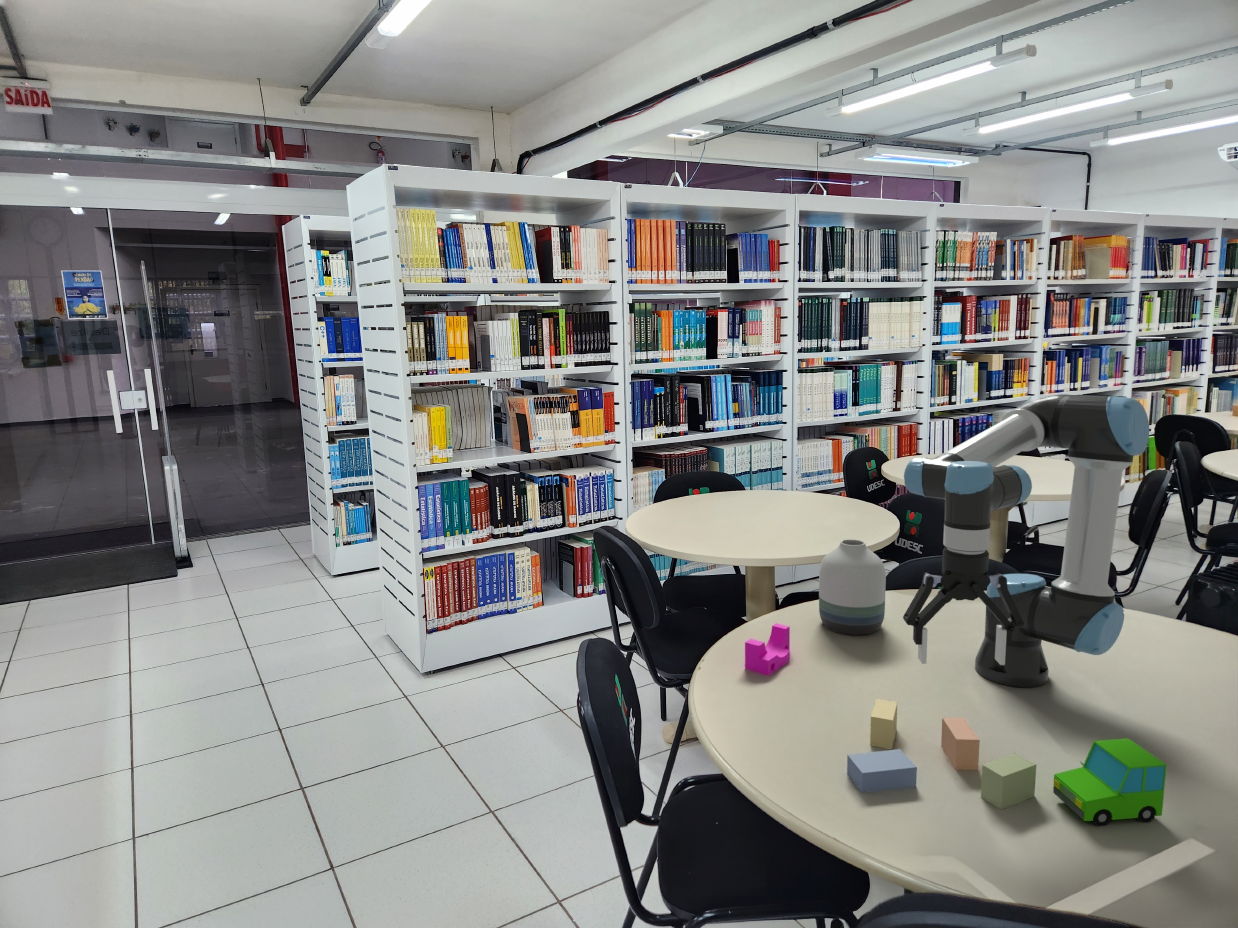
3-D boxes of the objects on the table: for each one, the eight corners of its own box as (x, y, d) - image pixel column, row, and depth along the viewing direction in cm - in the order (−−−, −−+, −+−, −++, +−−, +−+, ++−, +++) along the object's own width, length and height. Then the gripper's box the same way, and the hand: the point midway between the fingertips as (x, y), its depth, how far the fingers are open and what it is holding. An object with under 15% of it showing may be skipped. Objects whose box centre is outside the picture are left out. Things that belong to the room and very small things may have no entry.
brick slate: (899, 769, 140) (899, 749, 139) (916, 788, 134) (916, 766, 133) (847, 774, 138) (847, 754, 138) (861, 794, 132) (862, 772, 132)
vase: (815, 616, 215) (816, 533, 211) (877, 617, 213) (879, 534, 209) (822, 640, 199) (823, 550, 195) (890, 641, 196) (892, 551, 192)
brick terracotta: (941, 746, 146) (942, 717, 145) (962, 747, 146) (964, 717, 145) (955, 769, 138) (956, 739, 137) (978, 770, 138) (979, 739, 137)
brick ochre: (875, 726, 155) (876, 698, 154) (896, 729, 153) (897, 701, 152) (870, 745, 148) (870, 716, 147) (892, 749, 146) (892, 720, 145)
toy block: (768, 678, 178) (768, 648, 176) (745, 671, 182) (744, 642, 180) (798, 657, 189) (798, 628, 188) (776, 651, 193) (776, 623, 192)
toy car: (1045, 795, 130) (1049, 740, 129) (1119, 789, 131) (1123, 735, 130) (1087, 833, 120) (1091, 774, 118) (1166, 826, 121) (1171, 768, 120)
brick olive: (1013, 784, 133) (1015, 752, 132) (1034, 796, 130) (1036, 764, 129) (980, 797, 130) (982, 764, 129) (1001, 809, 127) (1002, 776, 126)
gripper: (1030, 543, 138) (1024, 653, 142) (888, 543, 141) (885, 651, 144) (1049, 554, 131) (1041, 671, 134) (898, 554, 134) (895, 668, 137)
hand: (960, 661), depth 139 cm, fingers open, 13 cm apart
